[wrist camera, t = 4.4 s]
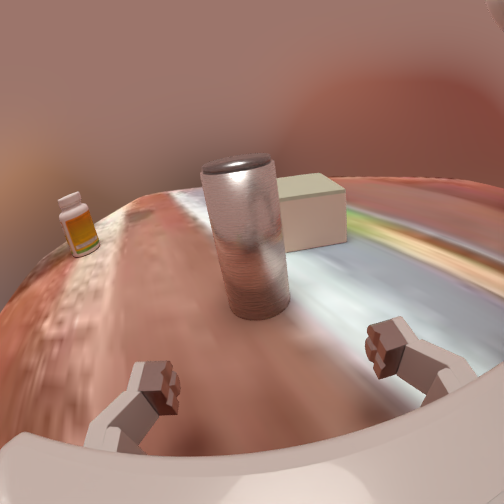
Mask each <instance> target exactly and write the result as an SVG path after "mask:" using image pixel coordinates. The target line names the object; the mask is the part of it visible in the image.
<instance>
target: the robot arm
mask: <svg viewBox="0 0 504 504" xmlns="http://www.w3.org/2000/svg"><path fill="white" fill-rule="evenodd" d="M485 3H486V6H487V8H488V11H489V13H490V15H491V17H492V18H493V20H494V21H495V23H496V24H497V25H498V26H499V28H501V29H502V31H503V32H504V0H485ZM367 334H368V335H369V337H368V338H367V339H366V341H365V350H366V354H367V357H368V359H369V361H371V362H373V363H374V366H373V369H374V371H375V373H376V375H377V377H378V379H383V378H386V377H389V376H392V375H395V374H397V376H399V377H400V378H402V379H403V380H404V381H406V382H407V383H409V384H410V385H412V386H413V387H415V388H416V389H418V390H419V391H421V392H422V393H424V394H425V395H426V397H425V399H424V401H423V403H422V405H421V407H420V408H418V409H416V410H414V411H411V412H409V413H406V414H404V415H401V416H399V417H396V418H394V419H391V420H388V421H386V422H383V423H380V424H377V425H374V426H371V427H368V428H365V429H362V430H359V431H356V432H352V433H349V434H345V435H342V436H338V437H334V438H331V439H327V440H322V441H318V442H314V443H309V444H304V445H300V446H294V447H289V448H283V449H277V450H271V451H263V452H256V453H247V454H236V455H223V456H199V457H174V456H151V455H147V454H146V452H144V451H143V450H142V449H141V448H140V447H139V446H138V445H139V444H140V442H141V441H142V440H143V438H144V437H145V436H146V434H147V433H148V431H149V430H150V429H151V427H152V426H153V425H154V423H155V422H156V421H157V419H158V418H159V416H162V415H178V407H179V401H178V400H177V396H178V395H179V394H180V389H181V387H180V380H179V377H178V375H177V373H176V372H174V371H172V369H173V365H172V364H171V362H170V361H147V362H136V363H135V364H134V366H133V369H132V372H131V376H130V379H129V383H128V386H127V390H126V391H123V392H122V393H121V394H120V395H119V396H118V397H117V398H116V399H115V400H114V401H113V402H112V403H111V404H110V405H109V406H108V407H107V408H105V409H104V410H103V411H102V412H101V413H100V414H99V415H98V416H97V417H96V418H95V419H94V420H93V421H92V422H91V423H90V425H89V428H88V431H87V435H86V438H85V442H84V446H83V447H82V446H77V445H73V444H68V443H64V442H60V441H56V440H52V439H48V438H45V437H41V436H38V435H35V434H32V433H28V432H22V433H20V434H18V435H17V436H16V437H14V438H13V439H12V440H10V441H9V442H8V443H7V444H5V445H4V446H3V447H2V448H1V450H0V504H504V361H503V362H501V363H500V364H498V365H497V366H495V367H494V368H492V369H491V370H489V371H488V372H486V373H485V374H483V375H481V376H480V377H477V375H476V374H475V372H474V371H473V370H472V368H471V367H470V365H469V364H468V363H467V361H466V360H465V358H463V357H461V356H458V355H456V354H454V353H452V352H449V351H447V350H445V349H443V348H440V347H438V346H436V345H434V344H431V343H429V342H427V341H425V340H419V339H418V338H417V336H416V335H415V334H414V332H413V331H412V329H411V328H410V327H409V325H408V324H407V323H406V321H405V320H404V319H403V317H401V316H399V317H396V318H392V319H390V320H386V321H382V322H379V323H375V324H372V325H369V326H368V328H367Z"/></svg>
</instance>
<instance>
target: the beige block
mask: <svg viewBox="0 0 504 504" xmlns="http://www.w3.org/2000/svg"><path fill="white" fill-rule="evenodd" d="M277 186H278V194H279V202H280V210H281V218H282V227H283V235H284V244H285V253H286V252H292V251H298V250H304V249H309V248H315V247H321V246H327V245H332V244H338V243H344V242H347V220H346V191H345V189H344V188H343V187H341V186H340V185H338V184H337V183H335V182H333V181H332V180H330V179H329V178H327V177H326V176H324V175H322V174H321V173H313V174H305V175H298V176H291V177H283V178H277Z"/></svg>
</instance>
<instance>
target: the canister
mask: <svg viewBox="0 0 504 504" xmlns="http://www.w3.org/2000/svg"><path fill="white" fill-rule="evenodd" d="M200 176H201V181H202V186H203V191H204V196H205V200H206V205H207V210H208V214H209V219H210V223H211V228H212V232H213V237H214V241H215V246H216V250H217V254H218V259H219V263H220V267H221V272H222V276H223V280H224V284H225V288H226V292H227V296H228V301H229V305H230V308H231V311H232V312H233V313H234V314H235V315H236V316H238V317H240V318H243V319H246V320H263V319H268V318H271V317H274V316H276V315H278V314H279V313H281V312H282V311H283V310H285V308H286V307H287V306H288V304H289V302H290V293H289V282H288V273H287V263H286V253H285V244H284V235H283V227H282V218H281V210H280V202H279V194H278V186H277V178H276V171H275V163H274V160H271V157H270V154H266V153H255V154H245V155H237V156H231V157H227V158H222V159H218V160H215V161H212V162H208V163H206V164H204V165H202V172H201V173H200Z"/></svg>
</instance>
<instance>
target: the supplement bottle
mask: <svg viewBox="0 0 504 504" xmlns="http://www.w3.org/2000/svg"><path fill="white" fill-rule="evenodd" d="M80 200H81V196H80V193H79V192H75V193H72V194H70V195H67V196H65V197H63V198H61V199H59V200H58V204H59V207H60V209H62V213H61V214H60V216H59V219H60V223H61V226H62V228H63V231H64V234H65V237H66V240H67V242H68V245H69V247H70V250H71V252H72V255H73V256H74V257H81V256H84V255H87V254H89V253H91V252H93V251H94V250H96V249H97V248H98V247H99V245H100V242H99V239H98V236H97V233H96V230H95V227H94V224H93V221H92V219H91V216H90V212H89V209H88V206H87V205H86V204H83V203H81V201H80Z"/></svg>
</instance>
